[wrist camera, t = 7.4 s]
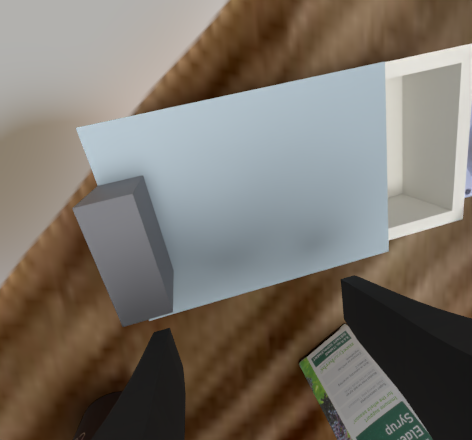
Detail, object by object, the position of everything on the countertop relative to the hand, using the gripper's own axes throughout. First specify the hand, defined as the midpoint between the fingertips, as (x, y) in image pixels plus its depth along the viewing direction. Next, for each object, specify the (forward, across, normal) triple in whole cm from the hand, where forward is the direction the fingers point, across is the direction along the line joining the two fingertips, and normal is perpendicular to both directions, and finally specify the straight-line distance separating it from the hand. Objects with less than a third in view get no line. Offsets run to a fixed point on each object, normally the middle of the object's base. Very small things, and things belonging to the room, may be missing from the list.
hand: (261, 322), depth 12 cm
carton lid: (+5, -2, -4) cm, 6 cm away
